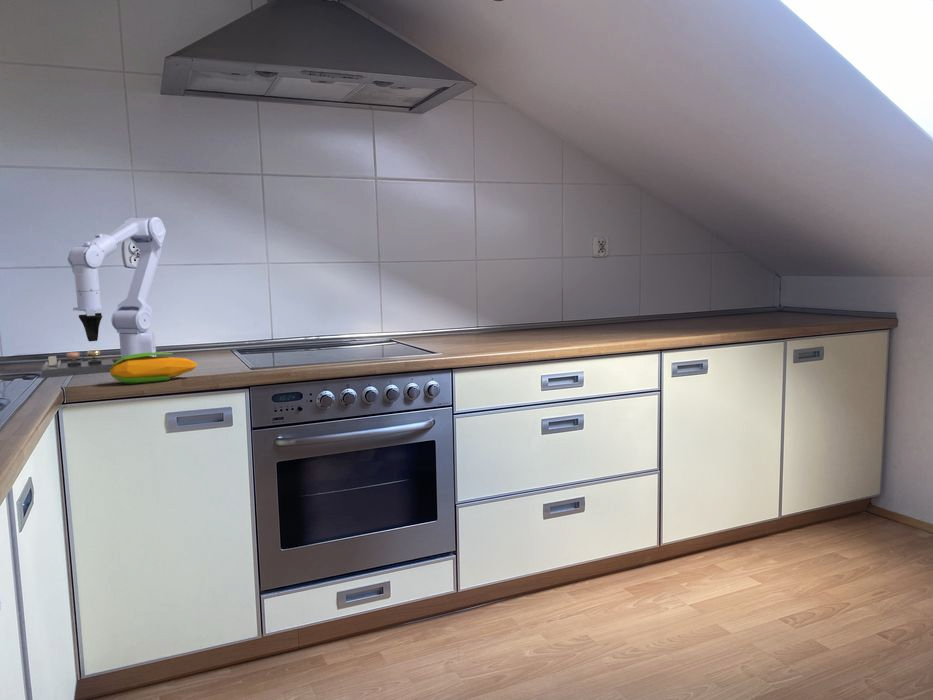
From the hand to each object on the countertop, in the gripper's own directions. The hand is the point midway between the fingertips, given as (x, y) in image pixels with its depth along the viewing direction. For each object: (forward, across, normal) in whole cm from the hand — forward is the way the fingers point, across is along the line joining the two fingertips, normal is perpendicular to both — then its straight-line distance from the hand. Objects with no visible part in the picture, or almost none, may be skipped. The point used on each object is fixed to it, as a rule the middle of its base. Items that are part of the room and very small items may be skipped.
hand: (92, 340), depth 191 cm
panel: (+8, 0, -4) cm, 9 cm away
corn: (+9, +29, +13) cm, 32 cm away
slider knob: (+6, -2, -10) cm, 12 cm away
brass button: (+5, 0, 0) cm, 5 cm away
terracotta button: (+5, 0, -5) cm, 7 cm away
